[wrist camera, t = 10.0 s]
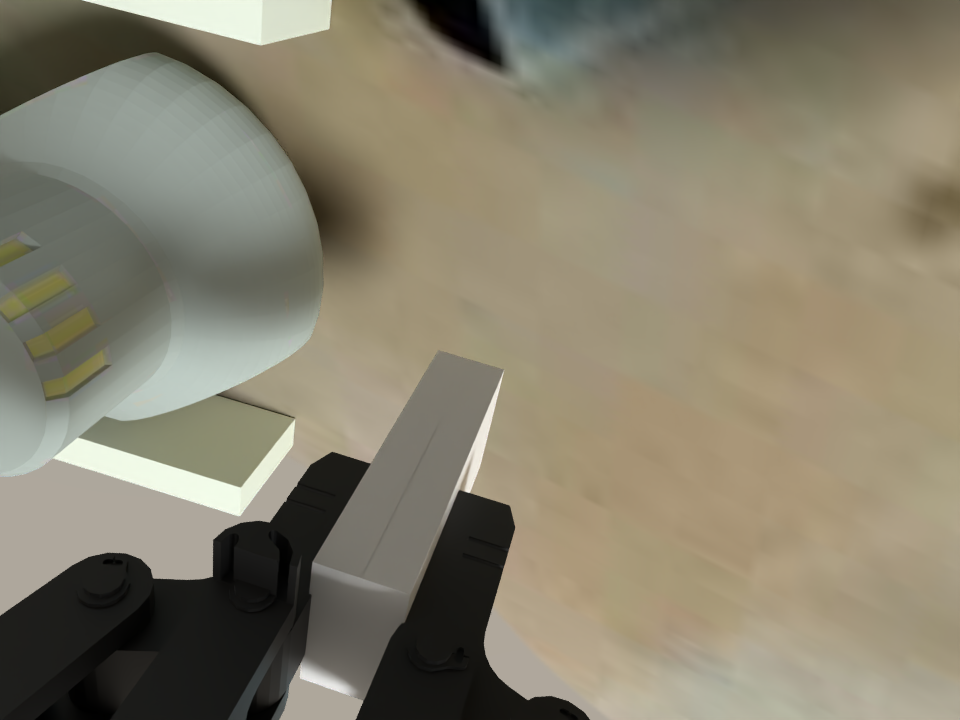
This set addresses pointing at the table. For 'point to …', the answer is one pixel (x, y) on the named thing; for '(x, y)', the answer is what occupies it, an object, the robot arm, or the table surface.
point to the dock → (215, 420)
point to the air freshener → (142, 253)
